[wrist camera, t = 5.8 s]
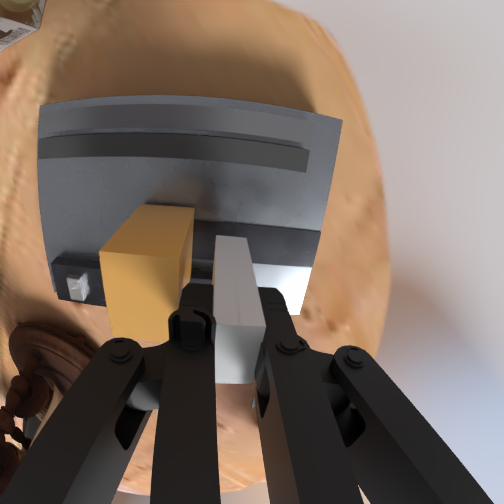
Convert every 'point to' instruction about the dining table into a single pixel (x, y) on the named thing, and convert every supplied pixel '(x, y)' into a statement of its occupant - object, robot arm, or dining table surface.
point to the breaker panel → (187, 201)
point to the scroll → (37, 384)
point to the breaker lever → (147, 270)
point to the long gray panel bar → (177, 143)
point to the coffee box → (19, 20)
